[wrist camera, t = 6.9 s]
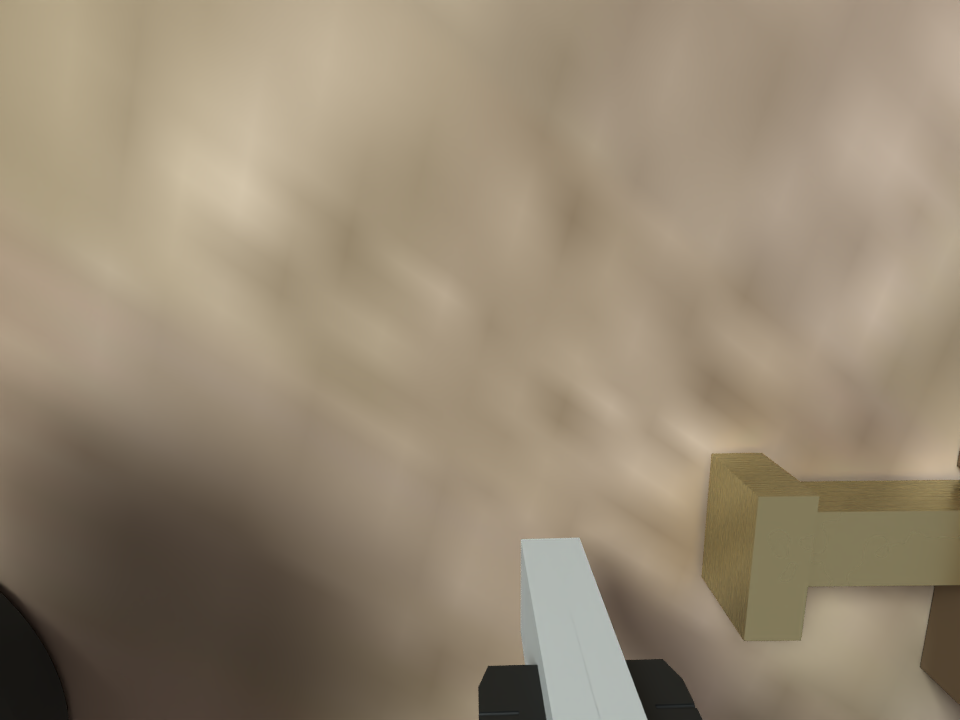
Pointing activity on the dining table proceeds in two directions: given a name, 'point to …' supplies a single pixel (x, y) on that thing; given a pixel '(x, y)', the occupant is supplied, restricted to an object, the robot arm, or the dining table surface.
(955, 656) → the socket block
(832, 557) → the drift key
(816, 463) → the dining table surface
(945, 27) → the dining table surface
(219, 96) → the dining table surface
